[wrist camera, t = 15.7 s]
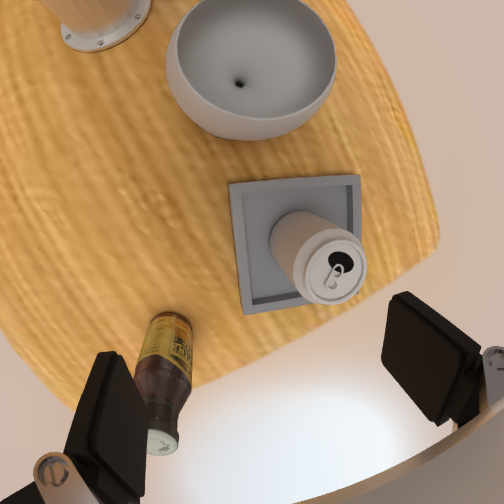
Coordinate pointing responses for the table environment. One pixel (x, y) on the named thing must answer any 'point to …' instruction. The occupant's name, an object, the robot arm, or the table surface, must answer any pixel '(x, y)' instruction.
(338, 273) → the can
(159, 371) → the sauce bottle
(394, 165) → the table surface
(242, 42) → the chalice
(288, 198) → the tray
